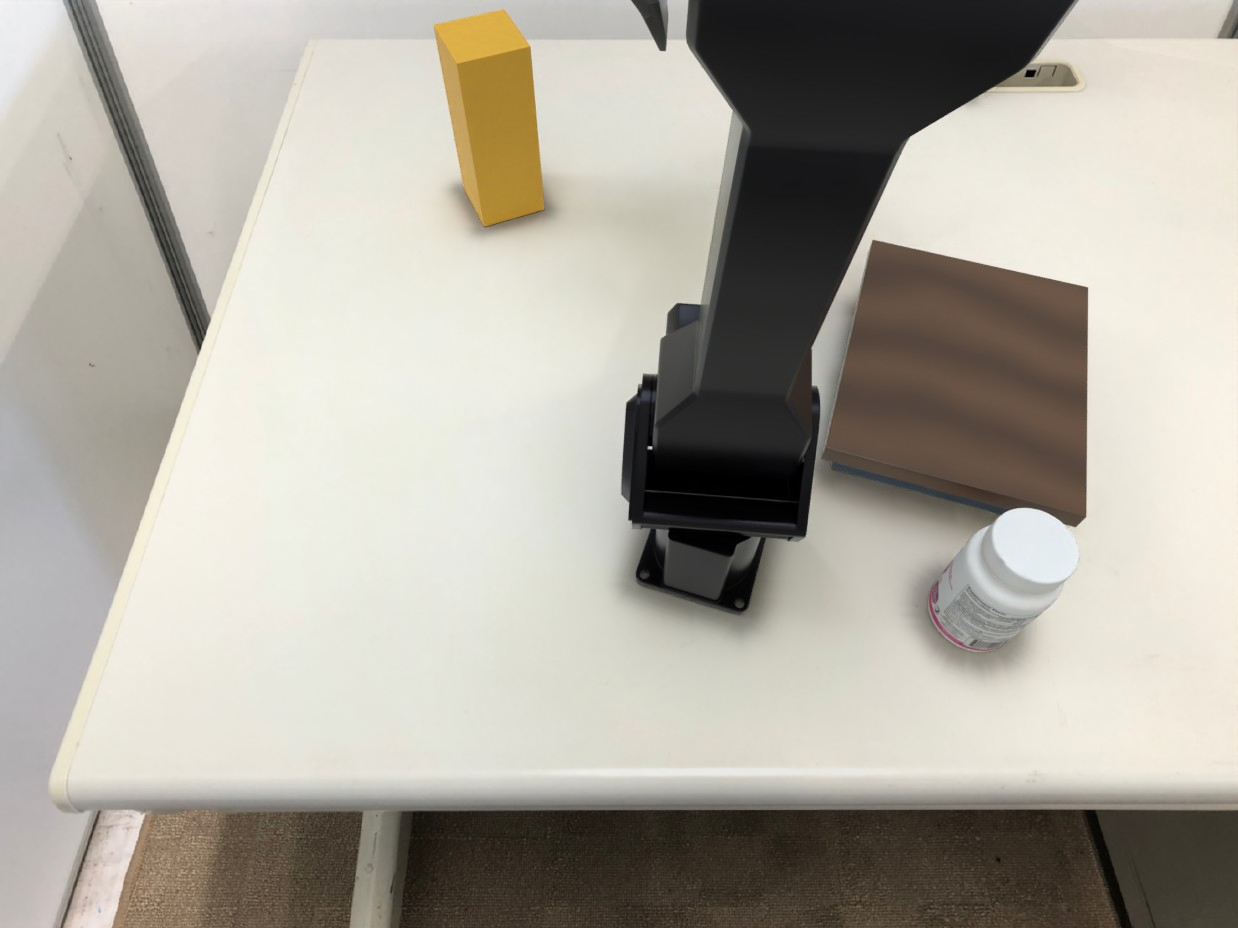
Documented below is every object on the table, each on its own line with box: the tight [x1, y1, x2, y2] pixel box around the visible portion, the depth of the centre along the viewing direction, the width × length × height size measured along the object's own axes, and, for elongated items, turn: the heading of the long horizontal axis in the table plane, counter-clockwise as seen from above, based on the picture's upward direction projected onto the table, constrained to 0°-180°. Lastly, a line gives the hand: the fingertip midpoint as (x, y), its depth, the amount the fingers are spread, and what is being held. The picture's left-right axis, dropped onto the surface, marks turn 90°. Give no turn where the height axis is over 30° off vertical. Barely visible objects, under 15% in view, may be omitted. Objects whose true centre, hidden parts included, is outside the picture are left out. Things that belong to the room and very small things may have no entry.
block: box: [433, 8, 545, 227], centre depth 57 cm, size 5×5×13 cm
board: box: [820, 239, 1089, 528], centre depth 50 cm, size 18×14×5 cm
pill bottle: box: [927, 508, 1080, 653], centre depth 40 cm, size 5×5×8 cm
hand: (738, 50), depth 48 cm, fingers open, 9 cm apart
